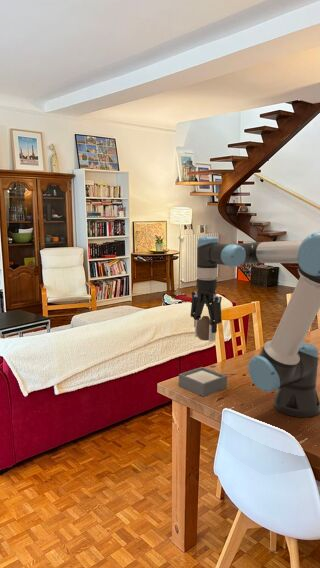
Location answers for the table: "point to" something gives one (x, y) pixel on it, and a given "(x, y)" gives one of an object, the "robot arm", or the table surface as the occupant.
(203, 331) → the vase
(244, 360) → the table surface
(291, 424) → the table surface
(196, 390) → the gray square tray
